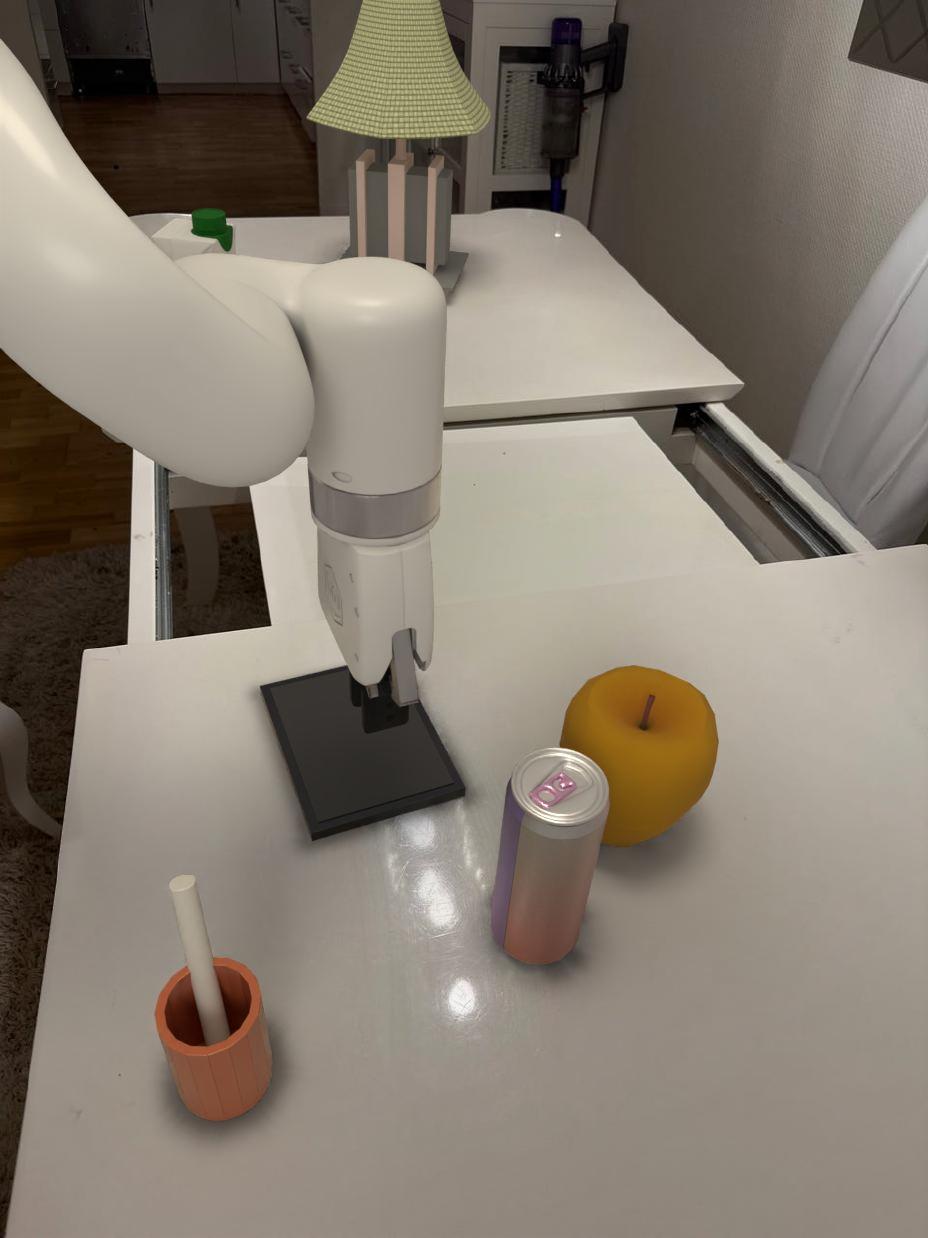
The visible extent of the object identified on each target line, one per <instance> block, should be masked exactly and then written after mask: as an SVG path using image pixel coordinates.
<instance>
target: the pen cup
mask: <svg viewBox="0 0 928 1238" xmlns="http://www.w3.org/2000/svg"><path fill="white" fill-rule="evenodd" d="M213 959H214V962H213V967H214V969H215V971H216V974H217V977H218V981H219V986H220V990H221V995H222V999H223V1004H224V1008H225V1013H226V1017H227V1022H228V1026H229V1031H230V1035H231V1036H230V1037H229V1038H228V1039H226V1040H225V1041H222V1042H219V1043H216V1044H214V1045H211V1046H208V1047H207V1046H206V1043H205V1039H204V1034H203V1030H202V1026H201V1022H200V1018H199V1013H198V1009H197V1005H196V1001H195V996H194V992H193V988H192V984H191V972H190V971H189V969H188V967H187V965H186V966H184V967H183V968H181V969H179V970H178V971H177V972H176V973H174V974H173V975H172V976H171V977H170V978H169V980H168V982H167V983H166V984H165V985H164V986H163V988H162V990H161V991H160V992H159V995H158V998H157V1002H156V1005H155V1010H154V1019H155V1025H156V1032H157V1034H158V1037H159V1040H160V1043H161V1046H162V1049H163V1052H164V1056H165V1058H166V1061H167V1064H168V1067H169V1069H170V1073H171V1076H172V1079H173V1081H174V1084H175V1088H176V1090H177V1093H178V1095H179V1097H180V1099H181V1101H182V1102H183V1104H184V1106H185V1107H186V1108H187V1109H188V1111H190V1112H191V1113H192V1114H193V1115H195V1116H197V1118H198V1117H199V1118H201V1119H203V1120H207V1121H214V1122H218V1121H219V1122H220V1121H221V1122H222V1121H227V1120H232V1119H235V1118H237V1117H241V1116H243V1114H245V1113H247V1112H249V1111H250V1110H252V1108H254V1107H255V1105H257V1104H258V1103H259V1101H260V1100H261V1099H262V1098H263V1096H264V1095H265V1093H266V1091H267V1090H268V1088H269V1086H270V1083H271V1080H272V1076H273V1070H274V1064H273V1063H274V1062H273V1061H274V1060H273V1059H274V1058H273V1052H272V1047H271V1041H270V1036H269V1030H268V1024H267V1019H266V1014H265V1008H264V1001H263V997H262V993H261V989H260V985H259V982H258V978H257V977H256V976H255V974H254V973H253V972H252V971H251V970H250V969H249V967H248V966H247V965H245V964H244V963H241V962H239V961H237V960H234V959H232V958H230V957H229V958H228V957H215V956H213Z"/></svg>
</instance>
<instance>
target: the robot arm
mask: <svg viewBox="0 0 928 1238" xmlns="http://www.w3.org/2000/svg"><path fill="white" fill-rule="evenodd" d="M447 329H448V303H447V298H446V299H445V294H444V291H443V289H442V287H441V285H440V284H439V282H438V281H437V279H436V278H435V277H434V276H433V275H431V274H430V273H429V272H428V271H426V270H425V269H423V268H421V267H420V266H417V265H415V264H412V263H409V262H405V261H401V260H397V259H391V258H383V257H354V258H347V259H341V260H339V259H337V260H333V261H330V262H326V263H310V262H299V261H289V260H280V259H274V258H273V259H272V258H265V257H257V256H251V255H242V254H236V255H234V254H223V253H205V254H197V255H191V256H187V257H183V258H181V259H179V260H176V261H173V260H171V259H170V258H169V257H168V256H167V255H166V254H165V253H164V252H163V251H162V250H161V249H160V248H159V247H158V246H157V245H155V244H154V243H153V241H152V239H151V238H149V237H148V235H146V234H145V233H144V232H143V230H141V228H140V227H139V226H138V225H137V224H136V223H135V222H134V221H133V220H132V219H131V218H130V217H129V216H128V215H127V214H126V212H124V210H122V208H121V207H120V206H119V205H118V203H117V202H115V200H114V198H113V197H112V196H110V194H109V193H108V192H107V191H106V190H105V188H104V187H103V186H102V185H101V183H100V182H99V181H98V180H97V179H96V178H95V176H94V175H93V174H92V172H91V171H90V170H89V169H88V167H87V166H86V164H85V163H84V162H83V160H82V158H80V156H79V155H78V153H77V152H76V150H75V149H74V148H73V146H72V144H71V143H70V140H69V139H68V137H66V135H65V133H64V132H63V130H62V127H60V125H59V123H58V121H57V120H56V117H55V116H54V114H53V112H52V111H51V109H50V107H49V106H48V104H47V101H46V100H45V98H44V96H43V94H42V93H41V91H40V90H39V88H38V87H37V85H36V83H35V81H34V80H33V78H32V77H31V75H30V74H29V73H28V72H27V70H26V69H25V67H24V65H22V63H21V62H20V61H19V59H18V58H17V57H16V55H15V54H14V53H13V52H12V51H11V49H10V48H9V46H7V44H6V43H5V42H4V41H3V40H2V39H1V38H0V349H1V350H2V351H3V352H4V353H5V354H6V355H7V356H8V357H9V358H10V359H11V360H12V361H13V362H14V363H16V364H17V365H18V367H20V368H21V369H22V370H23V371H24V372H26V373H27V374H28V375H29V376H30V377H31V378H33V380H35V381H36V382H38V383H39V384H40V385H41V386H42V387H43V388H45V389H46V390H47V391H48V392H50V393H51V394H52V395H54V396H55V397H57V398H58V399H59V400H61V401H62V402H63V403H64V404H66V405H68V406H69V407H70V408H71V409H73V410H74V411H76V412H78V413H79V414H80V415H82V416H84V417H85V418H86V419H88V420H90V421H91V422H93V424H95V425H97V426H99V427H100V428H102V429H103V430H104V431H106V432H107V433H110V435H112V436H113V437H116V438H117V439H118V440H120V441H121V442H123V443H124V444H126V445H127V446H129V447H130V448H131V449H133V450H135V451H137V452H138V453H140V454H141V455H142V456H144V457H146V458H147V459H149V460H151V461H153V462H154V463H156V464H157V465H160V467H163V468H164V469H166V470H169V471H171V472H172V473H174V474H176V475H179V476H181V477H185V478H187V479H189V480H192V481H195V482H196V483H197V482H198V483H201V484H205V485H210V486H214V487H222V488H244V487H252V486H255V485H258V484H259V485H260V484H262V483H265V482H269V481H270V480H272V479H273V478H276V477H277V476H279V475H281V474H282V473H283V472H284V471H287V469H288V468H289V467H291V466H292V465H293V464H294V463H295V462H296V460H297V459H298V458H299V457H300V456H301V454H302V453H303V452H304V450H306V460H307V461H306V462H307V479H308V492H309V494H308V495H309V505H310V515H311V520H312V521H313V523H314V525H315V526H316V543H317V544H316V548H317V550H316V551H317V556H316V557H317V558H316V559H317V591H318V592H317V593H318V600H319V604H320V607H321V611H322V612H323V615H324V618H325V620H326V623H327V625H328V626H329V629H330V631H331V633H332V635H333V638H334V640H335V643H336V644H337V646H338V649H339V651H340V653H341V656H342V657H343V659H344V662H345V665H347V666H348V668H349V681H350V700H351V702H352V704H353V706H355V707H362V727H363V729H364V732H365V733H367V734H370V733H374V732H378V731H381V730H385V729H389V728H393V727H397V726H400V725H404V724H406V723H407V722H408V720H409V705H410V704H414V703H418V702H419V699H420V696H419V690H418V688H419V687H418V682H417V674H416V667H415V664H416V666H417V667H418V669H419V670H421V671H422V672H426V671H427V670H428V669H429V667H430V665H431V663H432V660H433V659H432V658H433V652H434V639H435V636H434V635H435V601H434V600H435V598H434V596H435V595H434V574H433V559H432V558H433V557H432V547H431V534H430V531H431V530H432V529H433V528H434V527H435V525H436V524H437V523H438V521H439V519H440V516H441V496H442V492H441V491H442V467H443V446H444V445H443V443H444V439H443V438H444V413H445V388H446V387H445V385H446V384H445V383H446V356H447V331H448V330H447ZM305 447H306V449H305Z"/></svg>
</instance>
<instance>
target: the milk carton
mask: <svg viewBox="0 0 928 1238" xmlns="http://www.w3.org/2000/svg"><path fill="white" fill-rule="evenodd" d="M190 216H191V219H190V218H189V219H188V218H180V217H175V218H173V219H172V220H170V222H168V223H167V224H166V225H164V226H163V227H161V228H160V229H159V230H158V231H156V232H155V233H154V234H153V235H151V236H150V237H151V241H152V242H153V243H154V244H155V245H157V246H158V247H159V248H160V249H161V250H162V251H163V252H164V253H165V254H166V255H167V256H168V257H169V258H170V259H171V260H173V261H176V260H179V259H181V258H183V257H187V256H191V255H197V254H205V253H223V254H234V255H237V244H236V243H237V241H236V239H237V237H236V224H235V222H234V223H233V222H227V217H226V212H225V211H224V210H222V209H219V208H213V207H212V208H209V207H205V208H199V209H196V210H193V211H192V212H191V213H190Z"/></svg>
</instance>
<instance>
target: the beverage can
mask: <svg viewBox="0 0 928 1238" xmlns="http://www.w3.org/2000/svg"><path fill="white" fill-rule="evenodd" d="M505 789H506V790H505V796H504V805H503V815H502V821H501V830H500V837H499V846H498V854H497V860H496V870H495V878H494V886H493V895H492V903H491V910H490V911H491V912H490V928H491V932H492V935H493V937H494V940H495V941H496V942H497V944H498V945H499V946H500V948H501V949H502V950H503V951H504V952H505V953H506V954H507V955H509V956H510V957H512V958H513V959H516V960H517V961H520V962H523V963H525V964H526V963H527V964H531V965H545V964H546V965H547V964H551V963H554V962H557V961H559V960H562V959H563V958H565V957H566V956H567V955H569V953H570V952H571V951H572V950H574V948H575V946H576V944H577V943H578V940H579V938H580V937H579V936H580V932H581V928H582V924H583V920H584V917H585V916H584V915H585V911H586V908H587V903H588V899H589V895H590V891H591V887H592V882H593V878H594V874H595V869H596V866H597V861H598V857H599V853H600V850H601V849H600V848H601V845H602V843H601V841H602V837H603V832H604V828H605V824H606V820H607V816H608V812H609V805H610V801H609V785H608V781H607V778H606V776H605V774H604V773H603V771H602V770H601V768H600V767H599V766H598V765H597V764H596V763H595V762H594V761H593V760H591V759H590V758H589V757H587V756H585V755H583V754H581V753H579V752H577V751H574V750H570V749H566V748H560V747H558V746H557V747H556V746H555V747H551V746H550V747H543V748H539V749H535V750H533V751H531V752H529V753H527V754H526V755H524V756H523V757H522V758H521V759H519V760H518V761H517V763H516V764H515V767H514V768H513V770H512V772H511V776H510V778H509V779H508V781H507V785H506V788H505Z"/></svg>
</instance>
